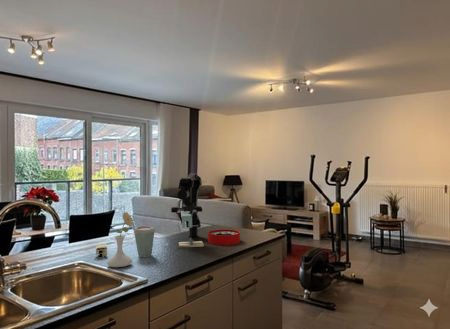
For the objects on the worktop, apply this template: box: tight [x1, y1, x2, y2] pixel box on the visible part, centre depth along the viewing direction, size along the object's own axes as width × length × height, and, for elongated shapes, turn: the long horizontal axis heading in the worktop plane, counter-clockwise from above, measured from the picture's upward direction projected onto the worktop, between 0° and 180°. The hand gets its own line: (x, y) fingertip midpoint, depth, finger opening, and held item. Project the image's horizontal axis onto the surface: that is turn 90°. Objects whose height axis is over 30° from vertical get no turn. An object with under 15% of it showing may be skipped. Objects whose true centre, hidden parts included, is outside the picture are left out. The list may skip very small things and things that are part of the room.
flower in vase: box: [106, 211, 135, 268], centre depth 159 cm, size 13×11×25 cm
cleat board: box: [178, 237, 205, 249], centre depth 201 cm, size 10×14×4 cm
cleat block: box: [181, 213, 193, 229], centre depth 208 cm, size 7×6×7 cm
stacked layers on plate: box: [95, 243, 109, 258], centre depth 177 cm, size 10×9×6 cm
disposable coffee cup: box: [133, 225, 156, 258], centre depth 176 cm, size 11×11×15 cm
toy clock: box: [207, 229, 241, 246], centre depth 211 cm, size 20×6×20 cm
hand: (186, 223), depth 208 cm, fingers closed on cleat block, 6 cm apart
